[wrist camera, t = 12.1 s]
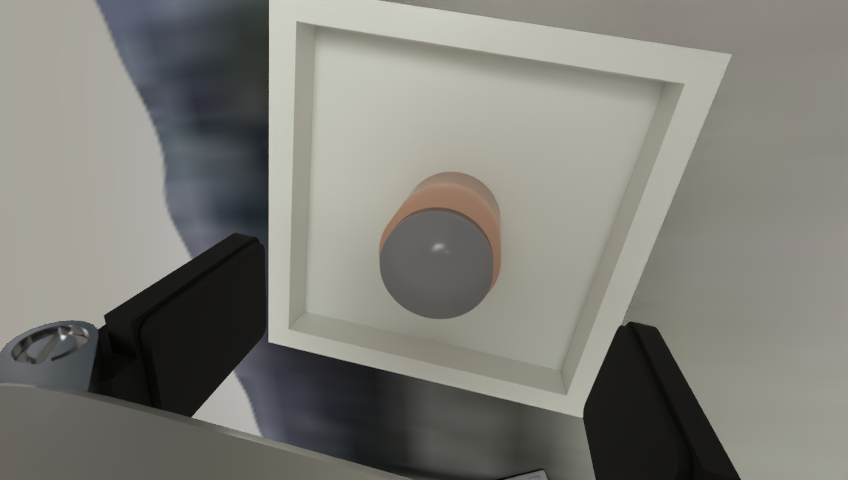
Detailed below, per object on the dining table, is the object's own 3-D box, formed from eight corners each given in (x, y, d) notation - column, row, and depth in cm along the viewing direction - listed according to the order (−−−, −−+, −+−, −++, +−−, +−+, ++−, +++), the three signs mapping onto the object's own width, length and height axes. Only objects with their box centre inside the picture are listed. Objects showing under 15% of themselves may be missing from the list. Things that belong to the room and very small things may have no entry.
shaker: (411, 163, 20) (379, 195, 15) (510, 182, 20) (515, 222, 14) (398, 252, 22) (366, 310, 17) (488, 271, 22) (485, 337, 16)
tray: (301, -4, 19) (269, -17, 17) (695, 57, 18) (732, 54, 15) (292, 314, 26) (268, 341, 24) (573, 379, 25) (582, 417, 22)
